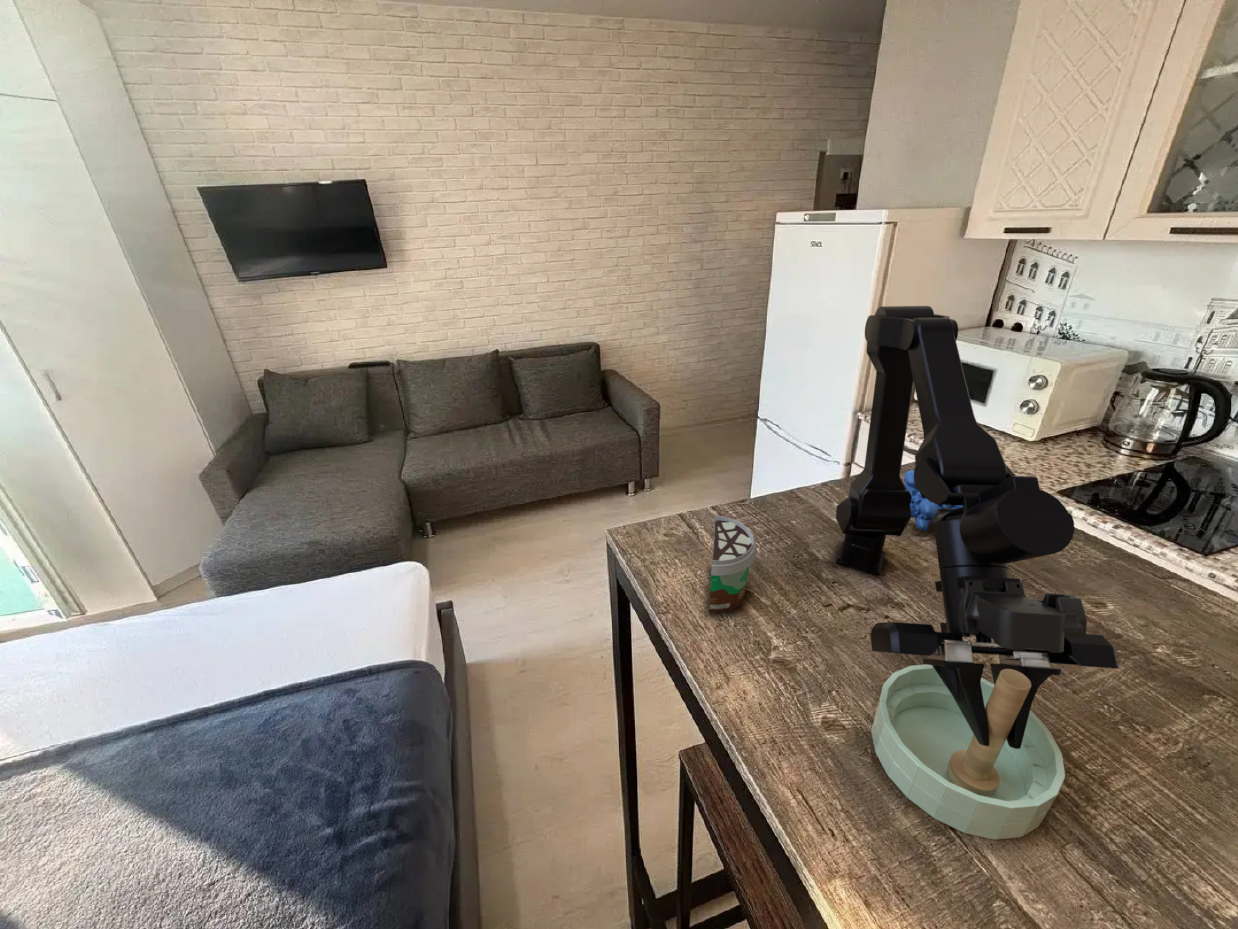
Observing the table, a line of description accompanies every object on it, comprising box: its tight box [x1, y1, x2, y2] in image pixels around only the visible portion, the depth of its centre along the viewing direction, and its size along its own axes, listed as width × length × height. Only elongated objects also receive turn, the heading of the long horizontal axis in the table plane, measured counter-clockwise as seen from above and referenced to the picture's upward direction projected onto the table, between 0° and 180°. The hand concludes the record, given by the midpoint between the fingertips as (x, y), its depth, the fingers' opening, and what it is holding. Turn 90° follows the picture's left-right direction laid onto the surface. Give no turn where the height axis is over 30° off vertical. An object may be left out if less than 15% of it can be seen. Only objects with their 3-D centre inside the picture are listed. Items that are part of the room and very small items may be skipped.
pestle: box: [947, 669, 1031, 798], centre depth 47 cm, size 4×4×14 cm
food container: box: [708, 514, 758, 614], centre depth 74 cm, size 12×6×10 cm, turn 168°
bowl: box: [870, 664, 1066, 841], centre depth 51 cm, size 15×15×6 cm
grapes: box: [903, 469, 963, 532], centre depth 86 cm, size 12×7×12 cm, turn 51°
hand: (999, 746), depth 45 cm, fingers closed on pestle, 2 cm apart
